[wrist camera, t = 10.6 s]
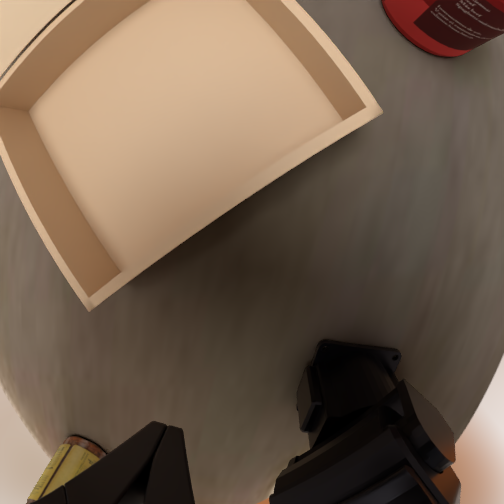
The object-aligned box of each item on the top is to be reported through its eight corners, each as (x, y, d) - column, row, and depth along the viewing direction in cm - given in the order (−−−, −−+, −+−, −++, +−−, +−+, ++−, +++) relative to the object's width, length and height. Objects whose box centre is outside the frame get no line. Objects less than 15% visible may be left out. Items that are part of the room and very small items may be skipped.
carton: (355, 127, 17) (383, 112, 12) (124, 282, 20) (88, 311, 15) (213, -38, 14) (200, -79, 9) (26, 112, 17) (-18, 105, 13)
